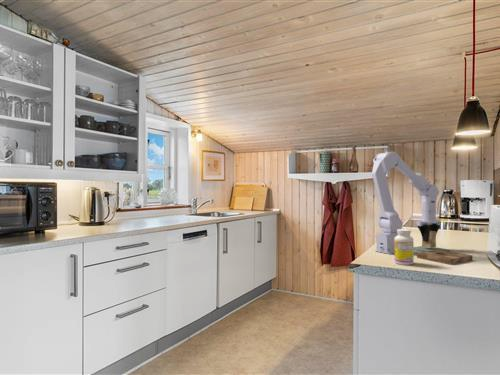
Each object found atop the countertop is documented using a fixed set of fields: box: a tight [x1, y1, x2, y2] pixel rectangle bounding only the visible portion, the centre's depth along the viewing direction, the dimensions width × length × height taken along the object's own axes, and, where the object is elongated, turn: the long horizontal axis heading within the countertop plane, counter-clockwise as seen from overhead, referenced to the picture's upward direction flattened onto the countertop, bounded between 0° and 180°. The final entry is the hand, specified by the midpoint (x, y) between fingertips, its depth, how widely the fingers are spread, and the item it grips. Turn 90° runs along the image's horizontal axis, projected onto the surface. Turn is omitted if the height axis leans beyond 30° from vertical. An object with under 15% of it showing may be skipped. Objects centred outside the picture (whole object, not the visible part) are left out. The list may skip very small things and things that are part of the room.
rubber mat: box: [413, 245, 451, 252], centre depth 159 cm, size 12×12×1 cm
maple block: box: [421, 231, 437, 248], centre depth 159 cm, size 4×4×7 cm
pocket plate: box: [416, 250, 473, 265], centre depth 140 cm, size 14×14×2 cm
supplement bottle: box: [394, 228, 415, 266], centre depth 133 cm, size 7×7×13 cm
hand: (428, 240), depth 159 cm, fingers closed on maple block, 4 cm apart
